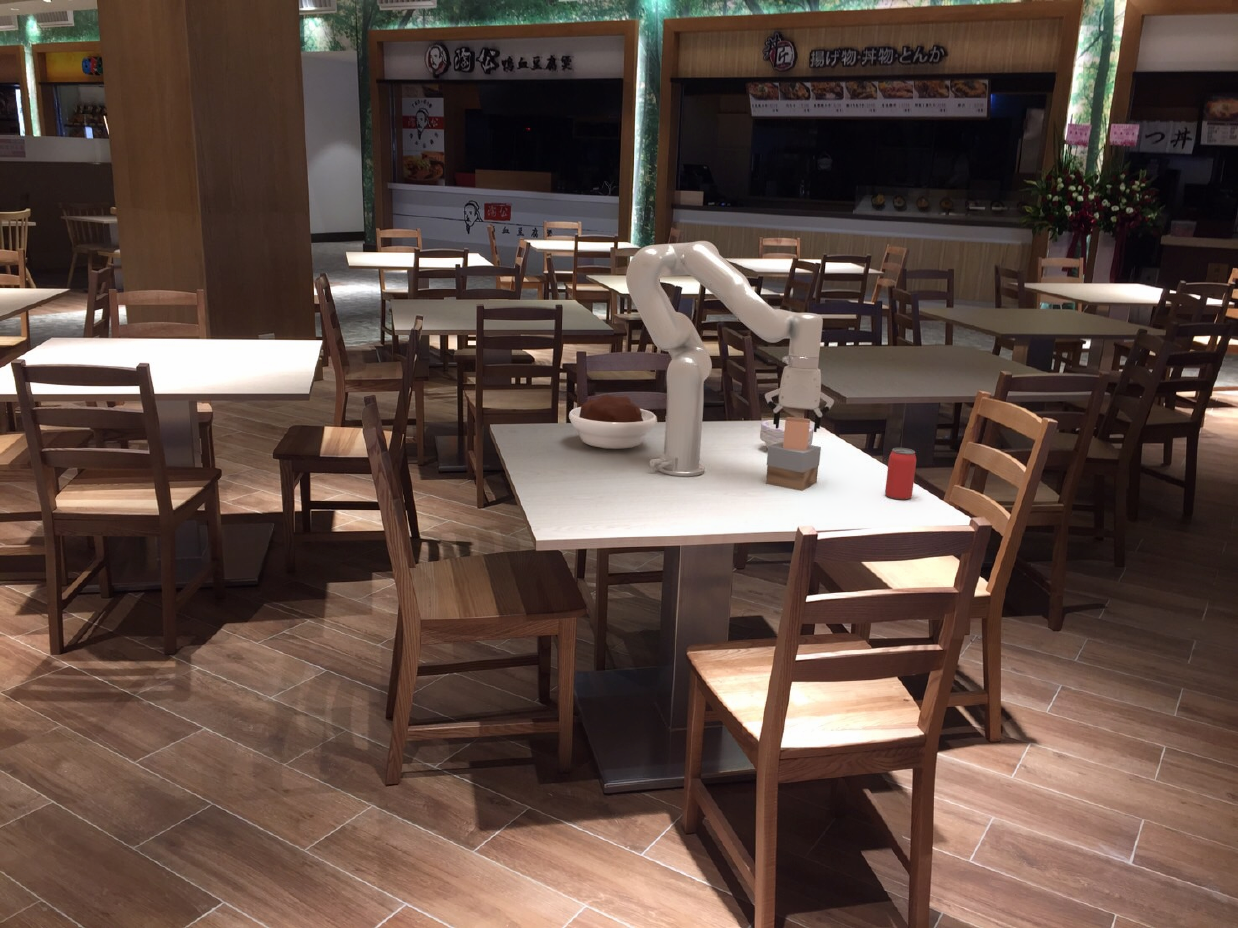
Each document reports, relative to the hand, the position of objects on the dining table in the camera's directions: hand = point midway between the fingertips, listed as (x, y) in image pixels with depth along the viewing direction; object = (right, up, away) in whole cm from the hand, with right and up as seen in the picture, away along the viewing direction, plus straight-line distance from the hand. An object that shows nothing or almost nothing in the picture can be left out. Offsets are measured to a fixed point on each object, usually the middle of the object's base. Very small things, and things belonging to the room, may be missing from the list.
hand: (796, 429), depth 261 cm
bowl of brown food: (-47, -4, +35) cm, 59 cm away
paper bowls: (+3, -5, +39) cm, 40 cm away
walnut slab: (-1, -14, +4) cm, 15 cm away
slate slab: (0, -9, +3) cm, 10 cm away
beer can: (+25, -17, -4) cm, 31 cm away
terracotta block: (0, -4, +1) cm, 5 cm away
